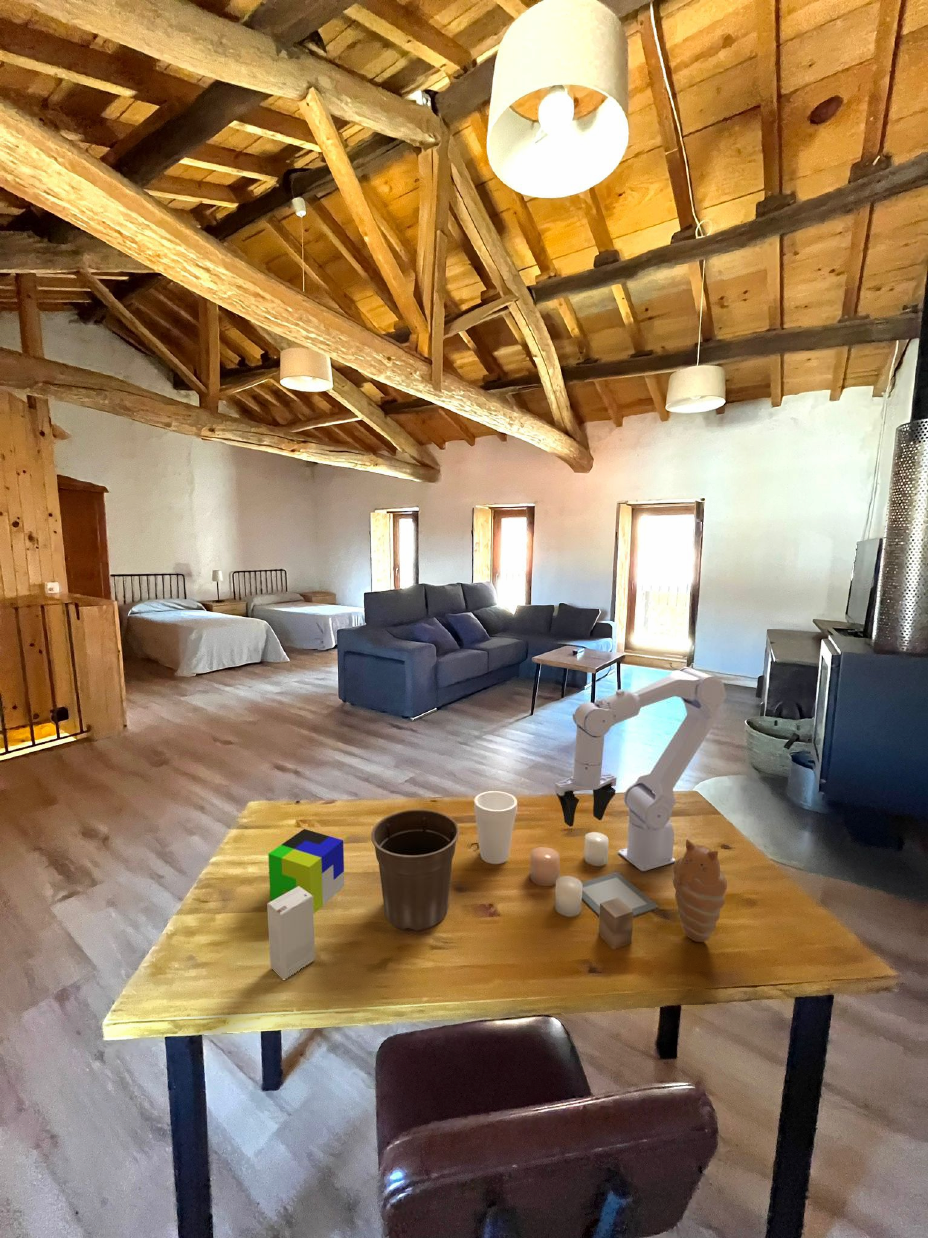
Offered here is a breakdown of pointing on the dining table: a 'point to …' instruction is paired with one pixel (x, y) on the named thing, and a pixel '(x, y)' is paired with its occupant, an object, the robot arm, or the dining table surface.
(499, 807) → the foam cup
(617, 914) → the walnut block
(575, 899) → the cream rounded capsule
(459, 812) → the dining table surface
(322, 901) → the puzzle toy
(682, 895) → the cat ice cream
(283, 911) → the skincare box
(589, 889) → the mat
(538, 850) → the peach rounded blob
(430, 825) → the plant pot
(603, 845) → the cream rounded cylinder
